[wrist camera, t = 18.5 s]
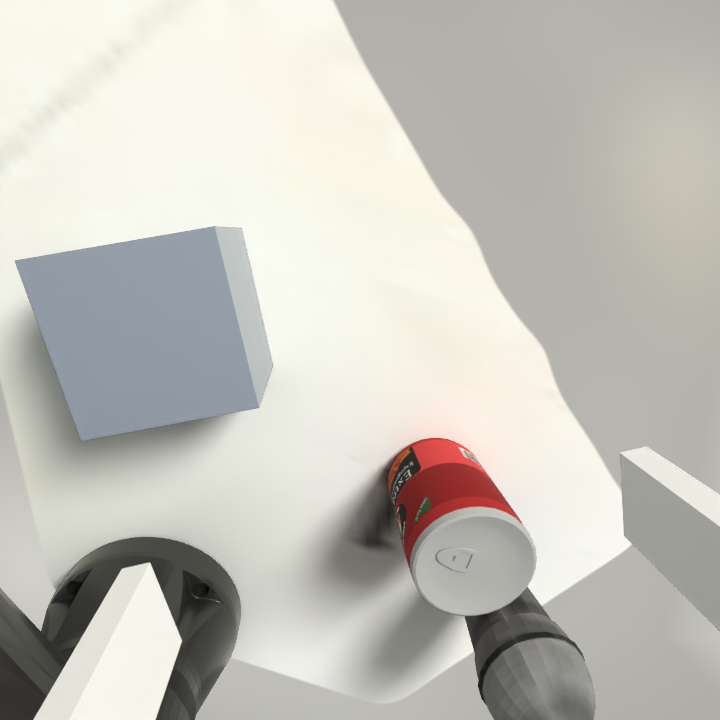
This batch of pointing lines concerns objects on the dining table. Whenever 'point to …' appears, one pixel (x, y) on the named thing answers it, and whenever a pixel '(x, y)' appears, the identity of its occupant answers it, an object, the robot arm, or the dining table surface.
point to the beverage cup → (529, 665)
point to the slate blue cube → (152, 329)
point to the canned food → (458, 530)
